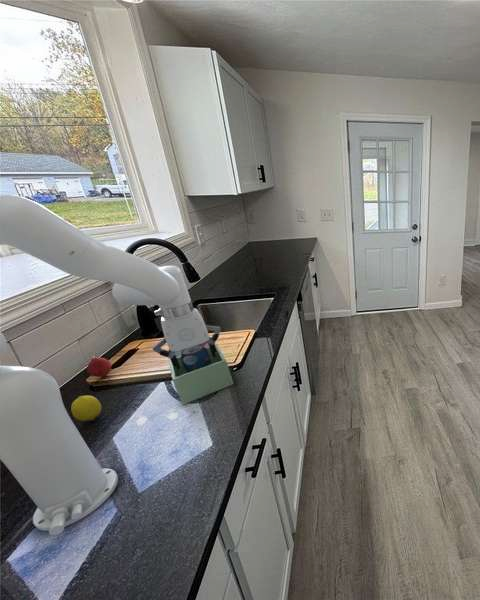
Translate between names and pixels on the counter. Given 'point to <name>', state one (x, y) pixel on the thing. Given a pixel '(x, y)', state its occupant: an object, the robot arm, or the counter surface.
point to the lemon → (86, 408)
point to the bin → (201, 378)
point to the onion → (98, 367)
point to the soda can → (195, 358)
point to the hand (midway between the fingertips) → (196, 360)
